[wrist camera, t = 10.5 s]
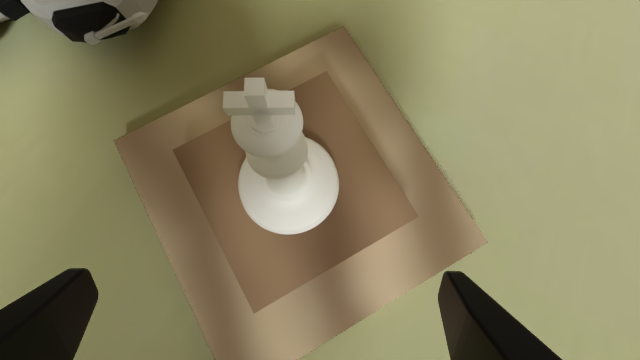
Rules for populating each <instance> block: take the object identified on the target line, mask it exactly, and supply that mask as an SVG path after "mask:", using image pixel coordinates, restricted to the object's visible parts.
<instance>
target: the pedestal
mask: <svg viewBox="0 0 640 360" xmlns="http://www.w3.org/2000/svg"><path fill="white" fill-rule="evenodd" d="M244 78H264V79H265V82H266V86H267V89H275V90H279V91H294V94H295V101H296V103H297V104H298V105H299V107H300V109H301V112H302V115H303V130H302V133H303V134H304V136H305V137H307V138H309V139H311V140H313V141H315V142H316V143H318V144H319V145H321V146H322V147H323V148H324V149H325V150H326V151H327V152H328V154H329V155H330V157H331V158H332V160H333V162H334V164H335V167H336V169H337V173H338V178H339V192H338V197H337V200H336V203H335V205H334V207H333V209H332V211H331V212H330V214H329V215H328V216H327V217H326V218H325V219H324V220H323V221H322V222H321V223H320V224H319V225H317V226H316V227H314V228H312V229H310V230H308V231H305V232H302V233H298V234H289V235H286V234H278V233H274V232H271V231H268V230H266V229H264V228H262V227H261V226H259V225H258V224H257V223H255V222H254V221H253V220H252V219H251V218H250V216H249V215H248V214H247V212H246V211H245V209H244V207H243V205H242V202H241V199H240V195H239V190H238V178H239V172H240V169H241V166H242V164H243V162H244V160H245V158H246V153H245V151H244V150H243V149H242V148H241V147H240V146H239V145H238V144H237V142H236V141H235V139H234V137H233V134H232V131H231V117H232V116H227V114H226V113H225V111H224V110H223V92H224V91H244ZM114 142H115V144H116V146H117V149H118V151H119V153H120V155H121V157H122V159H123V162H124V164H125V166H126V168H127V170H128V172H129V175H130V177H131V179H132V181H133V183H134V185H135V188H136V190H137V192H138V194H139V196H140V198H141V200H142V203H143V205H144V207H145V209H146V211H147V213H148V216H149V218H150V220H151V222H152V224H153V226H154V229H155V231H156V233H157V235H158V237H159V239H160V242H161V244H162V246H163V248H164V250H165V252H166V255H167V257H168V259H169V261H170V263H171V265H172V268H173V270H174V272H175V274H176V276H177V278H178V281H179V283H180V285H181V287H182V289H183V291H184V294H185V296H186V298H187V300H188V302H189V304H190V307H191V309H192V311H193V313H194V315H195V317H196V320H197V322H198V324H199V326H200V328H201V330H202V333H203V335H204V337H205V339H206V341H207V343H208V346H209V348H210V350H211V352H212V354H213V356H214V359H215V360H298V359H299V358H301V357H302V356H304V355H306V354H307V353H309V352H311V351H312V350H314V349H315V348H317V347H319V346H320V345H322V344H324V343H325V342H327V341H328V340H330V339H332V338H333V337H335V336H337V335H338V334H340V333H341V332H343V331H345V330H346V329H348V328H349V327H351V326H353V325H354V324H356V323H358V322H359V321H361V320H362V319H364V318H366V317H367V316H369V315H371V314H372V313H374V312H375V311H377V310H379V309H380V308H382V307H384V306H385V305H387V304H388V303H390V302H392V301H393V300H395V299H397V298H398V297H400V296H401V295H403V294H405V293H406V292H408V291H410V290H411V289H413V288H414V287H416V286H418V285H419V284H421V283H423V282H424V281H426V280H427V279H429V278H431V277H432V276H434V275H436V274H437V273H439V272H440V271H442V270H444V269H445V268H447V267H449V266H450V265H452V264H453V263H455V262H457V261H458V260H460V259H462V258H463V257H465V256H466V255H468V254H470V253H471V252H473V251H475V250H476V249H478V248H479V247H481V246H483V245H484V244H486V243H487V240H486V239H485V237H484V236H483V234H482V233H481V231H480V230H479V228H478V227H477V225H476V224H475V222H474V221H473V219H472V218H471V216H470V215H469V213H468V212H467V210H466V209H465V207H464V206H463V204H462V203H461V201H460V200H459V198H458V197H457V195H456V194H455V192H454V191H453V189H452V188H451V186H450V185H449V183H448V182H447V180H446V179H445V177H444V176H443V174H442V173H441V171H440V170H439V168H438V167H437V165H436V164H435V162H434V161H433V159H432V157H431V156H430V154H429V153H428V151H427V150H426V148H425V147H424V145H423V144H422V142H421V141H420V139H419V138H418V136H417V135H416V133H415V132H414V130H413V129H412V127H411V126H410V124H409V123H408V121H407V120H406V118H405V117H404V115H403V114H402V112H401V111H400V109H399V108H398V106H397V105H396V103H395V102H394V100H393V99H392V97H391V96H390V94H389V93H388V91H387V90H386V88H385V87H384V85H383V84H382V82H381V81H380V79H379V78H378V76H377V75H376V73H375V72H374V70H373V69H372V67H371V66H370V64H369V63H368V61H367V60H366V58H365V57H364V55H363V54H362V52H361V51H360V49H359V48H358V46H357V45H356V43H355V42H354V40H353V39H352V37H351V36H350V34H349V33H348V31H347V30H346V28H345V27H344V26H343V27H341V28H339V29H337V30H335V31H333V32H331V33H329V34H327V35H325V36H323V37H321V38H319V39H317V40H315V41H313V42H311V43H309V44H307V45H305V46H303V47H301V48H299V49H297V50H295V51H293V52H291V53H289V54H287V55H285V56H283V57H281V58H279V59H277V60H275V61H273V62H271V63H269V64H267V65H265V66H263V67H261V68H259V69H257V70H255V71H253V72H251V73H249V74H247V75H245V76H243V77H241V78H238V79H236V80H234V81H232V82H230V83H228V84H226V85H224V86H222V87H220V88H218V89H216V90H214V91H212V92H210V93H208V94H206V95H204V96H202V97H200V98H198V99H196V100H194V101H192V102H190V103H188V104H186V105H184V106H182V107H180V108H178V109H176V110H174V111H172V112H170V113H168V114H166V115H164V116H162V117H160V118H158V119H156V120H154V121H152V122H150V123H148V124H146V125H144V126H142V127H140V128H138V129H136V130H134V131H132V132H130V133H128V134H126V135H124V136H122V137H120V138H118V139H116V140H114Z"/></svg>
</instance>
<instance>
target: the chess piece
mask: <svg viewBox="0 0 640 360" xmlns="http://www.w3.org/2000/svg"><path fill="white" fill-rule="evenodd" d="M223 110H224V111H225V113H226V114H227V116H232V117H231V131H232V134H233V137H234V139H235V141H236V142H237V144H238V145H239V146H240V147H241V148H242V149H243V150H244V151H245V153H246V158H245V160H244V162H243V164H242V166H241V169H240V172H239V178H238V190H239V195H240V199H241V202H242V205H243V207H244V209H245V211H246V212H247V214H248V215H249V216H250V218H251V219H252V220H253V221H254V222H255V223H257V224H258V225H259V226H261V227H262V228H264V229H266V230H268V231H271V232H274V233H278V234H286V235H289V234H298V233H302V232H305V231H308V230H310V229H312V228H314V227H316V226H317V225H319V224H320V223H321V222H322V221H323V220H324V219H325V218H326V217H327V216H328V215H329V214H330V212H331V211H332V209H333V207H334V205H335V203H336V200H337V197H338V192H339V178H338V173H337V169H336V167H335V164H334V162H333V160H332V158H331V157H330V155H329V154H328V152H327V151H326V150H325V149H324V148H323V147H322V146H321V145H319V144H318V143H316V142H315V141H313V140H311V139H309V138H307V137H305V136H304V134H303V133H302V130H303V115H302V112H301V109H300V107H299V105H298V104H297V103H296V101H295V94H294V91H279V90H275V89H267V86H266V82H265V79H264V78H244V91H224V92H223Z"/></svg>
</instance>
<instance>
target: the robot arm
mask: <svg viewBox="0 0 640 360" xmlns="http://www.w3.org/2000/svg"><path fill="white" fill-rule="evenodd" d="M97 300H98V289H97V287H96V285H95V282H94V280H93V278H92V276H91V273H90V271H89V270H87V269H85V268H71V269H67V270H66V271H64V272H62V273H61V274H59V275H57V276H56V277H54V278H52V279H51V280H49V281H47V282H46V283H44V284H42V285H41V286H39V287H37V288H36V289H34V290H32V291H31V292H29V293H27V294H26V295H24V296H22V297H21V298H19V299H17V300H16V301H14V302H12V303H11V304H9V305H7V306H6V307H4V308H2V309H1V310H0V360H73V358H74V356H75V354H76V352H77V349H78V347H79V345H80V342H81V340H82V337H83V335H84V332H85V330H86V327H87V325H88V322H89V320H90V318H91V315H92V313H93V310H94V308H95V305H96V303H97ZM438 303H439V307H440V312H441V317H442V322H443V326H444V331H445V336H446V340H447V345H448V350H449V354H450V359H451V360H562V359H561V358H560V357H559V356H557V355H556V354H555V353H554V352H553V351H552V350H551V349H549V348H548V347H547V346H546V345H545V344H544V343H543V342H542V341H540V340H539V339H538V338H537V337H536V336H535V335H534V334H532V333H531V332H530V331H529V330H528V329H527V328H526V327H524V326H523V325H522V324H521V323H520V322H519V321H518V320H516V319H515V318H514V317H513V316H512V315H511V314H510V313H508V312H507V311H506V310H505V309H504V308H503V307H502V306H500V305H499V304H498V303H497V302H496V301H495V300H494V299H493V298H491V297H490V296H489V295H488V294H487V293H486V292H485V291H483V290H482V289H481V288H480V287H479V286H478V285H477V284H475V283H474V282H473V281H472V280H471V279H470V278H469V277H467V276H466V275H465V274H464V273H463V272H460V271H446V272H445V273H444V274H443V277H442V281H441V285H440V289H439V293H438Z"/></svg>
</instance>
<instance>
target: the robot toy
mask: <svg viewBox="0 0 640 360" xmlns="http://www.w3.org/2000/svg"><path fill="white" fill-rule="evenodd" d="M157 2H158V0H0V22H4V21H7V20H10V19H12V20H15V21H16V20H17V19H19V18H21V17H22V16H24V15H26V14H27V13H29V12H31V13H32V14H33V15H35V16H36V17H37V18H39V19H40V20H41V21H42V22H44V23H45V24H46V25H48V26H49V27H50V28H51V29H53V30H54V31H55V32H56V33H58V34H61V35H65V36H67V37H68V38H69V39H70V40H72V41H77V42H86V43H87V42H88V43H90V44H91V45H96V44H98V43H100V42H101V40H102V39H108V38H112V37H115V36H119V35H123V34H126V33H127V32H128V30H129V29H135V28H138V27H139V26H140V25H141V24H142V22H143V21H145V20H146V18H147V17H148V16H149V15H150V13H151V11H152V10H153V9H154V7H155V5H156V4H157Z"/></svg>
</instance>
